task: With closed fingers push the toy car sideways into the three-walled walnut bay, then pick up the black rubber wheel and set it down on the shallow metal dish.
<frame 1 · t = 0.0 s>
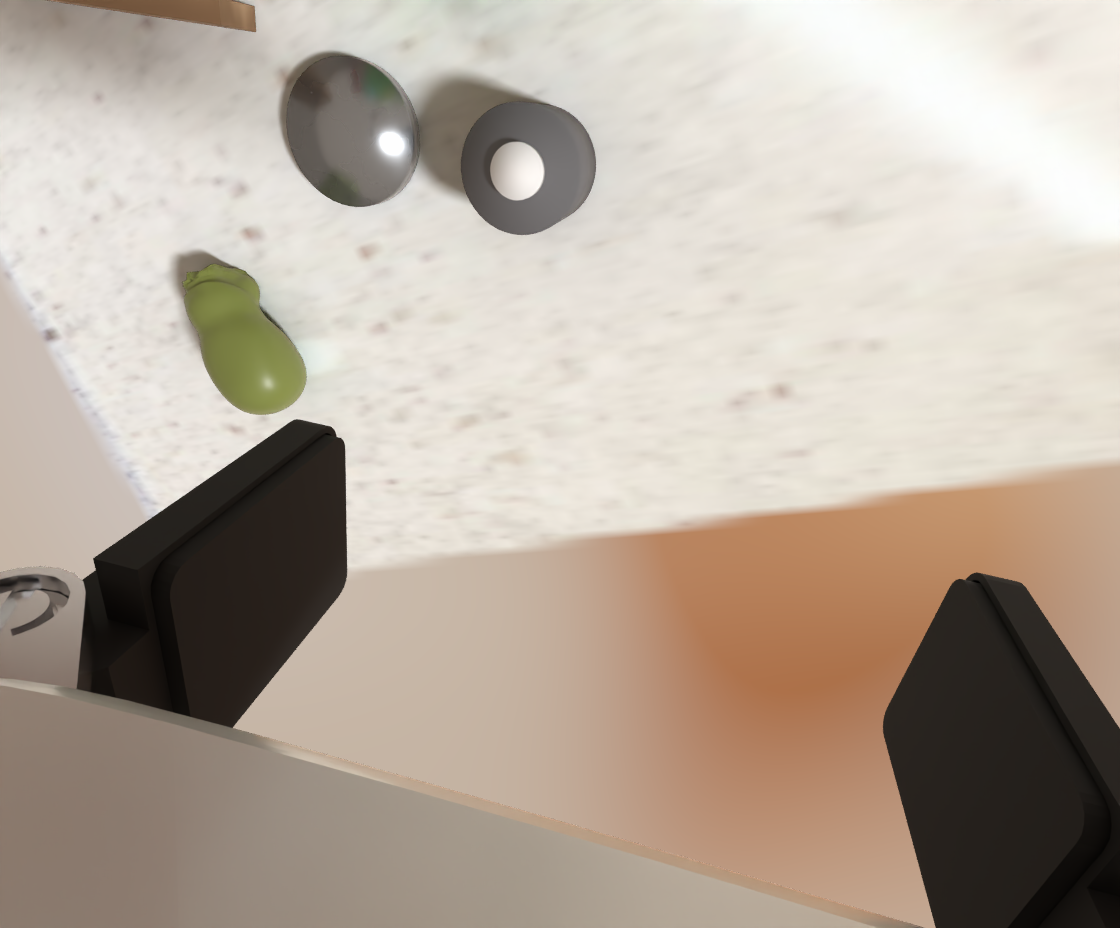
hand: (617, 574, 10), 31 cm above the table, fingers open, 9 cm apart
pear: (264, 330, 46), on the table
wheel: (542, 165, 37), on the table
shallow metal dish: (357, 134, 39), on the table
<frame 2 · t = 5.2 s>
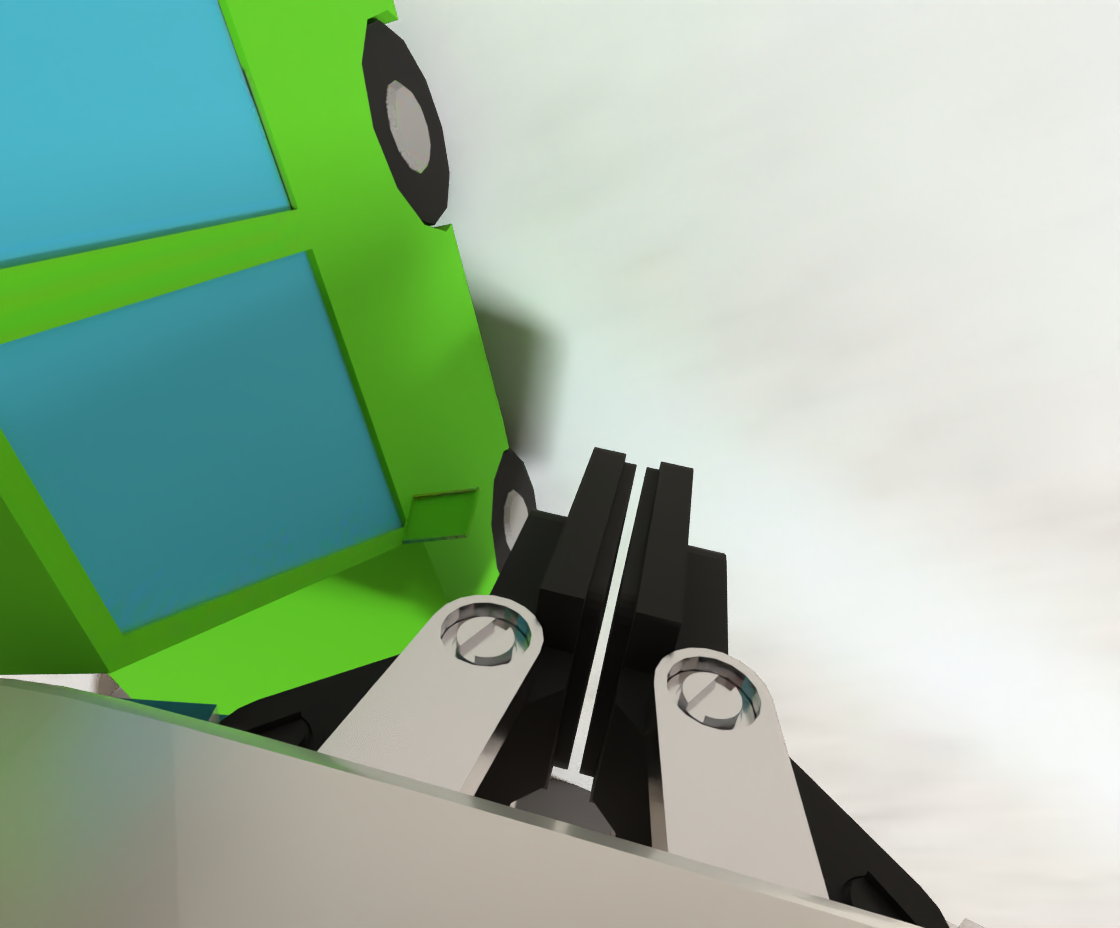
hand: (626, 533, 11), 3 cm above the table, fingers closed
toy car: (339, 370, 15), on the table, touching gripper
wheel: (551, 843, 21), on the table
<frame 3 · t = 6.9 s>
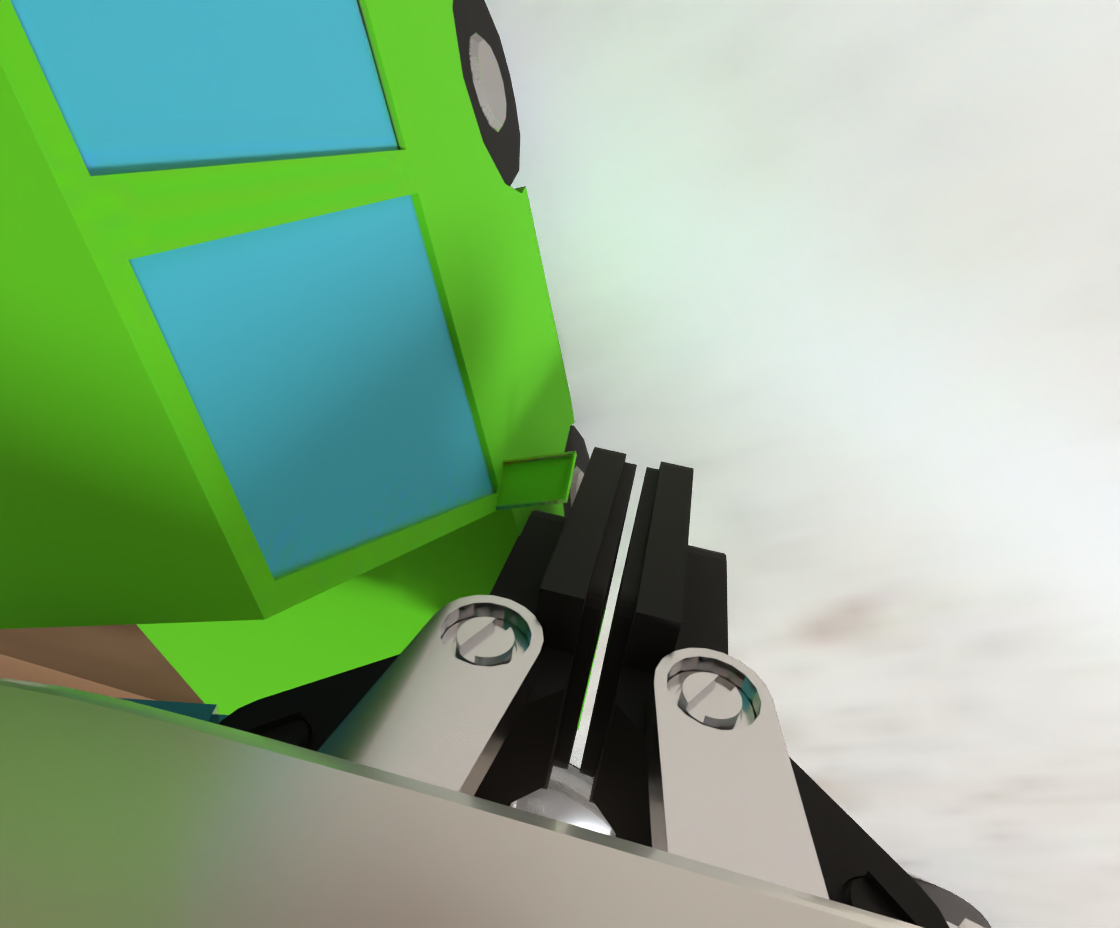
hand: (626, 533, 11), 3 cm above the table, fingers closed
toy car: (393, 344, 15), on the table, touching gripper
shallow metal dish: (519, 832, 21), on the table
bay: (59, 310, 16), on the table
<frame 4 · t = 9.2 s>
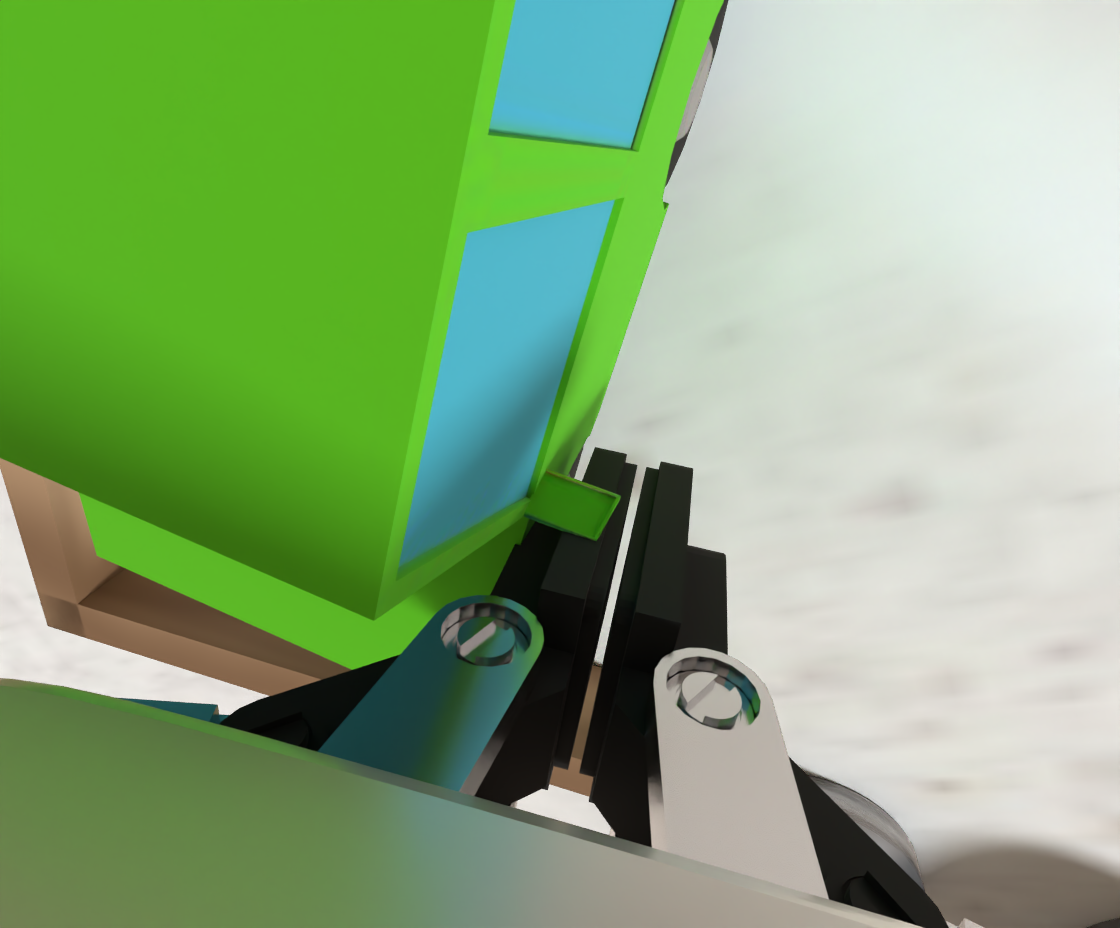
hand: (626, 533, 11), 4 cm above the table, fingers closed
toy car: (447, 267, 14), on the table, touching bay, gripper
shallow metal dish: (777, 858, 20), on the table
bay: (387, 315, 15), on the table
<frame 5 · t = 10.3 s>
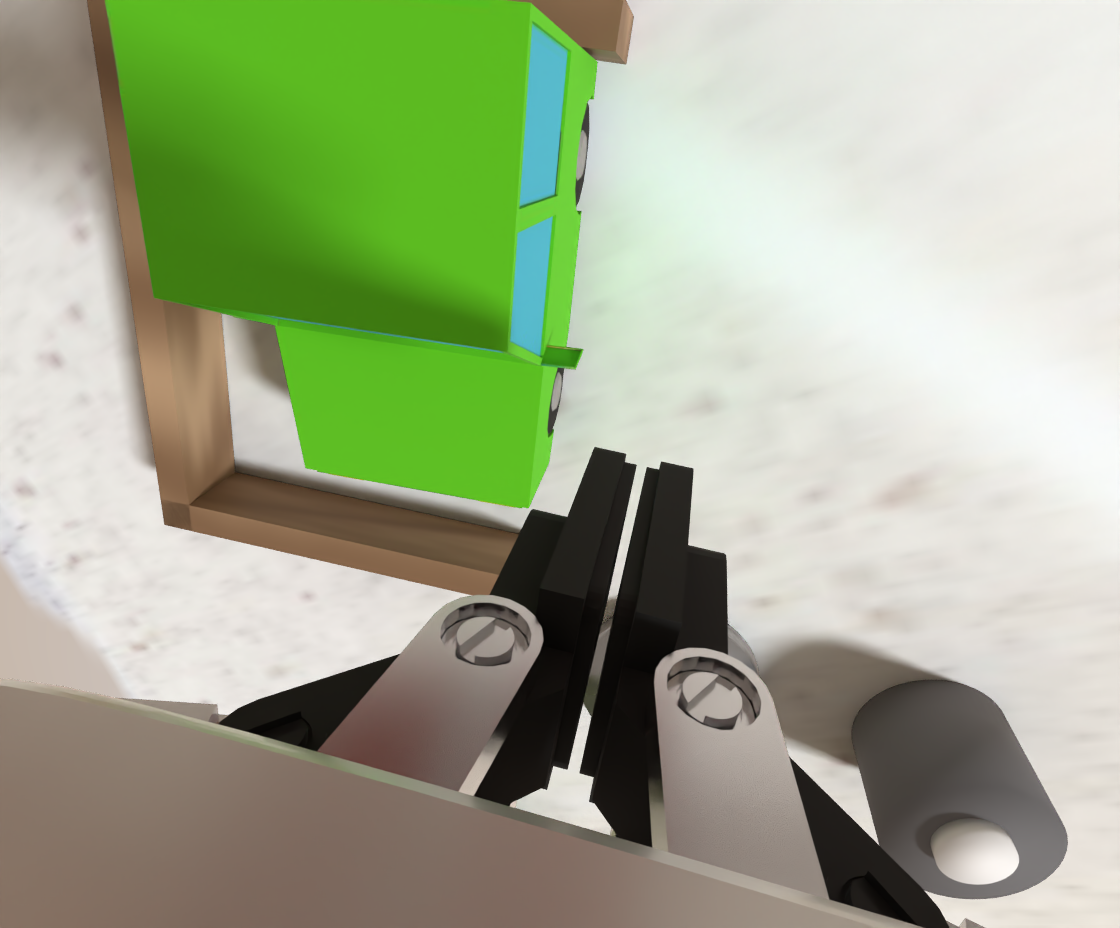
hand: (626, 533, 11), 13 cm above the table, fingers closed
toy car: (466, 271, 24), on the table
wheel: (927, 734, 28), on the table
shallow metal dish: (668, 675, 29), on the table
bay: (395, 305, 25), on the table
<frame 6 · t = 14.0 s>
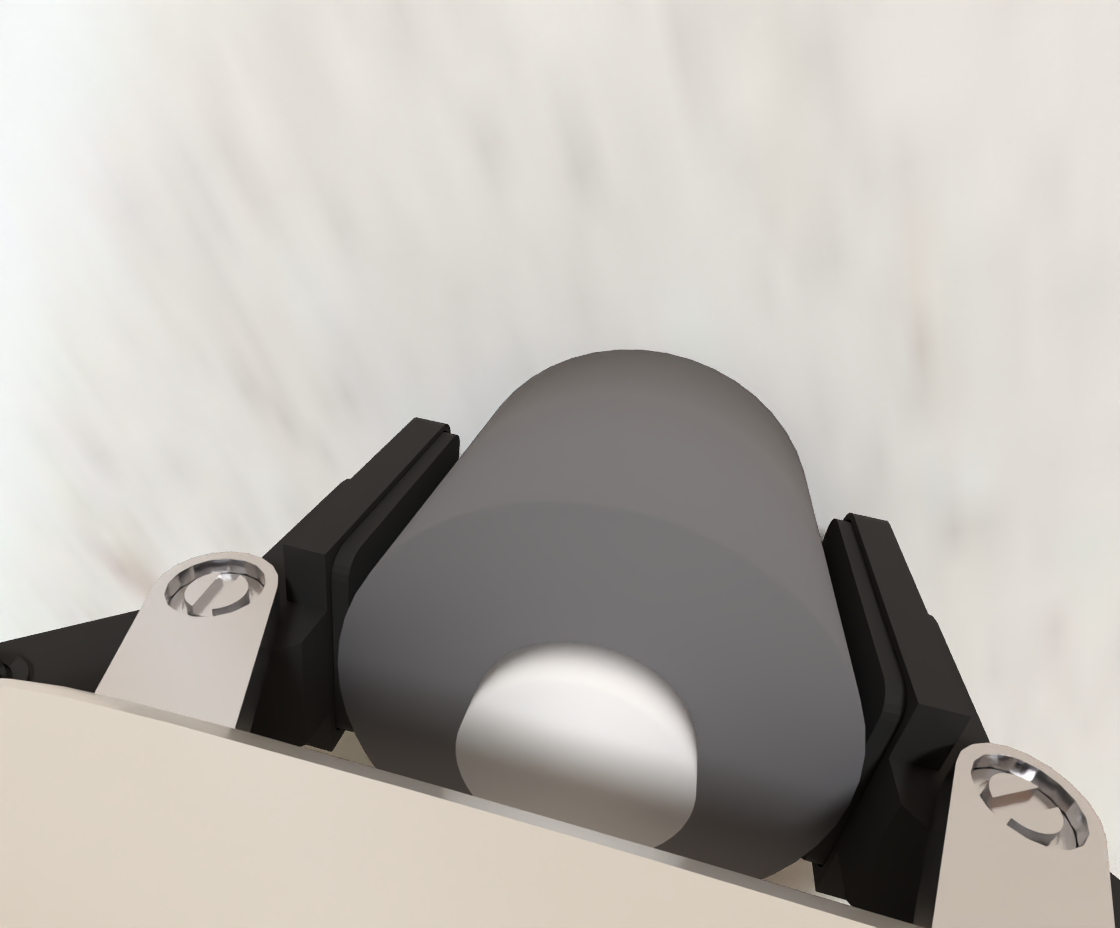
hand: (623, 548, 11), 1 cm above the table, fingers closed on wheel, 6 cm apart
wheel: (631, 512, 12), on the table, touching gripper
when the fingers open (4 cm above the table, at t = 18.9 s): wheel drops 1 cm, resting on shallow metal dish.
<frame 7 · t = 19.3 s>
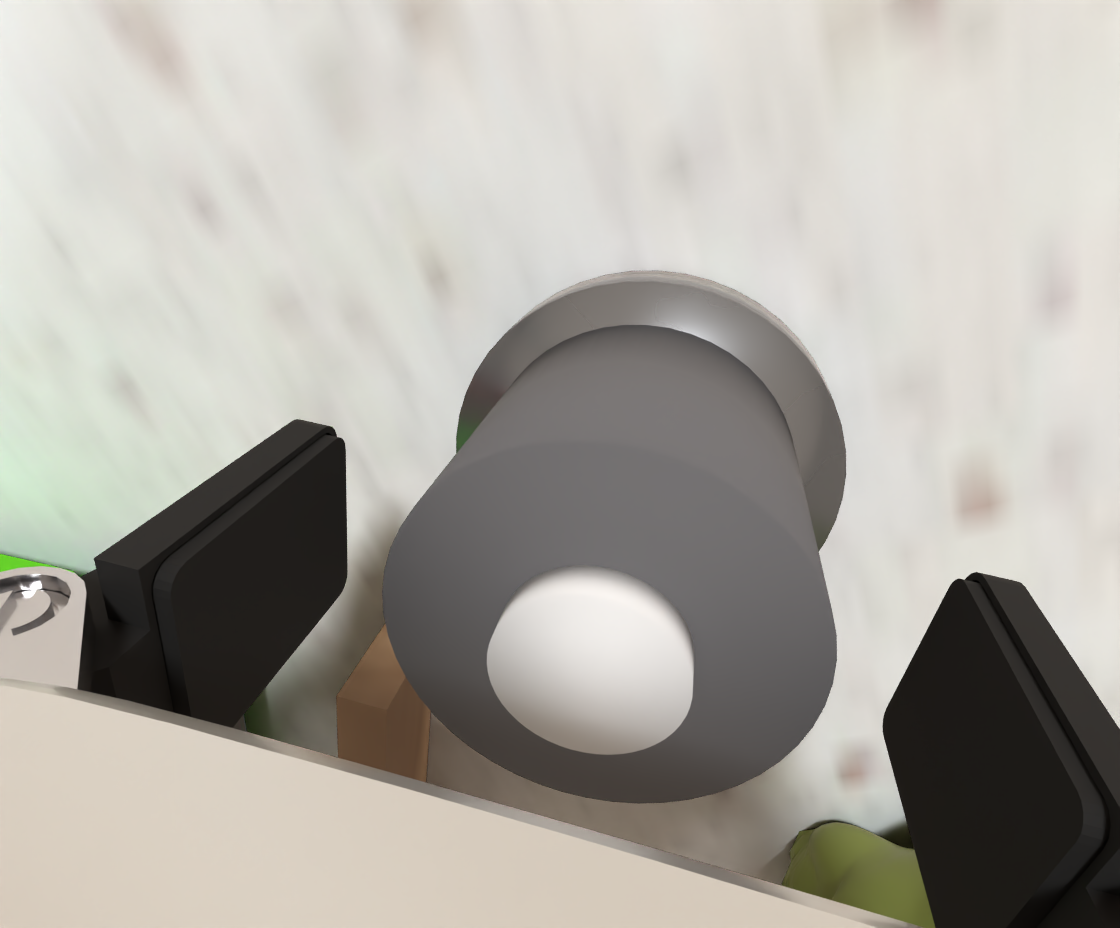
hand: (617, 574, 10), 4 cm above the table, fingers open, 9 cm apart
pear: (961, 835, 17), on the table
toy car: (93, 638, 21), on the table
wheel: (635, 474, 13), point 1 cm above the table, touching shallow metal dish
shallow metal dish: (644, 455, 14), on the table
bay: (144, 713, 22), on the table
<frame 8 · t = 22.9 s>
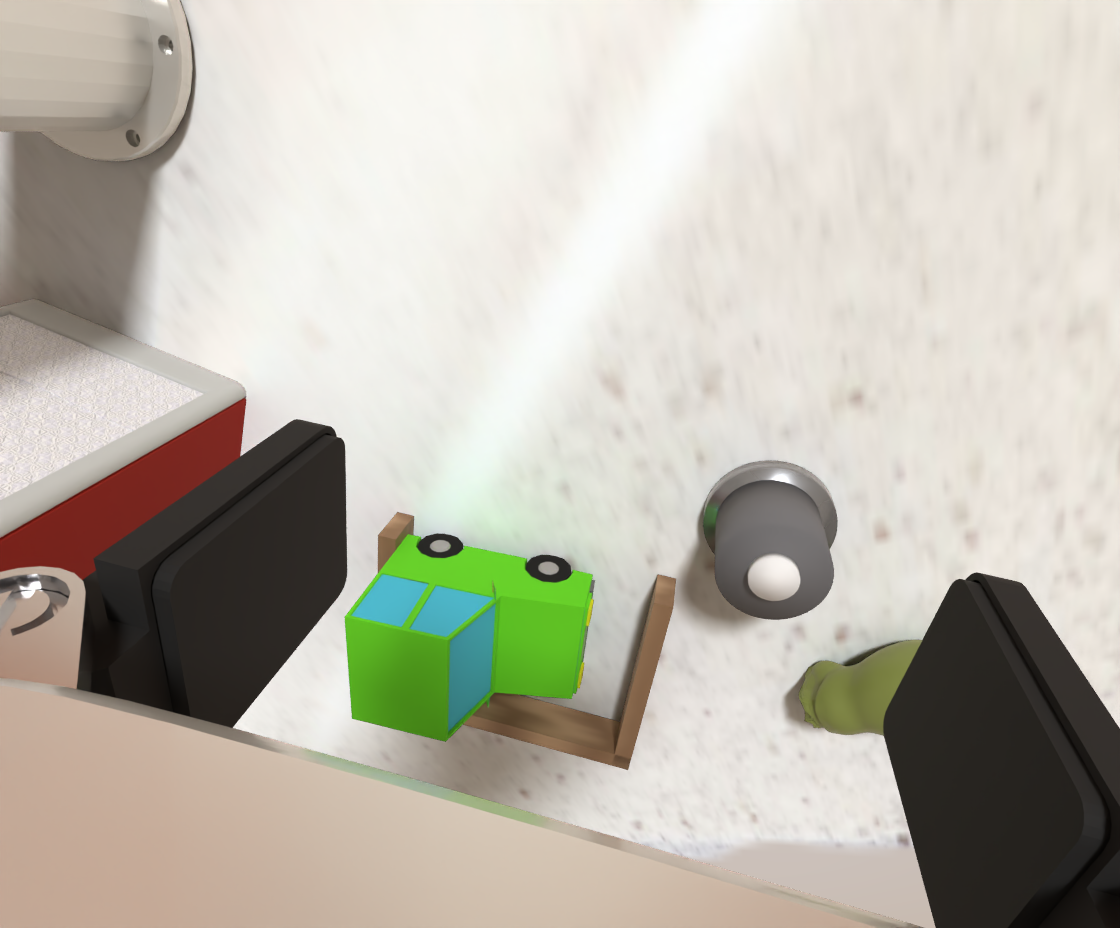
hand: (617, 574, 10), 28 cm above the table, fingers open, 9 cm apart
pear: (872, 665, 44), on the table
toy car: (504, 589, 48), on the table
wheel: (767, 524, 40), point 1 cm above the table, touching shallow metal dish
red striped mailbox: (137, 447, 49), on the table
shallow metal dish: (767, 517, 41), on the table
bay: (521, 623, 49), on the table
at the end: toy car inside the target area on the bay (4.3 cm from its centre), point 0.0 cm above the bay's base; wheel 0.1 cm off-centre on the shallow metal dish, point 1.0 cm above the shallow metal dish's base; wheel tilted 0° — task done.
